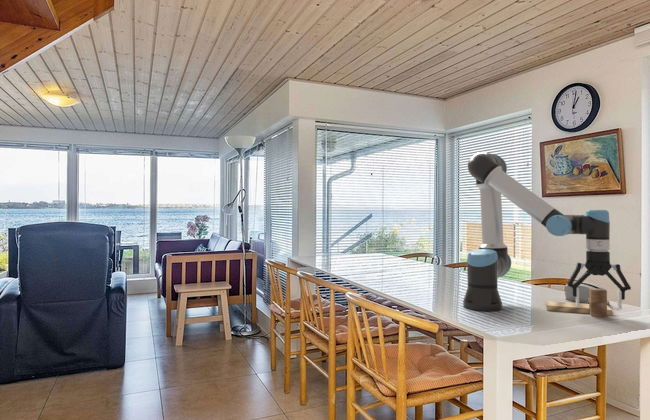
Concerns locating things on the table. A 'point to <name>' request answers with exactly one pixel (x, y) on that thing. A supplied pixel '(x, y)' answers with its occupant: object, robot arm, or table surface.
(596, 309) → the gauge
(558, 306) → the board
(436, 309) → the table surface
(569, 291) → the grey curved slab
